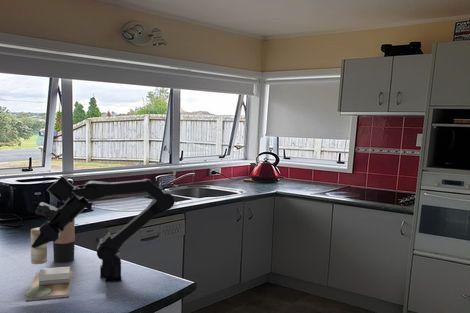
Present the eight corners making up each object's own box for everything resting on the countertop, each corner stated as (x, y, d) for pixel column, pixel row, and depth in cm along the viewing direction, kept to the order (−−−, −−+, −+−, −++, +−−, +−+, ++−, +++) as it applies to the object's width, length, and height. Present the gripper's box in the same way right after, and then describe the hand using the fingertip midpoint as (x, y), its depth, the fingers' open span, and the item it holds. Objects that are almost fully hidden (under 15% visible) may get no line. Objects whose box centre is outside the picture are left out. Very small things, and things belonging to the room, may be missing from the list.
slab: (70, 277, 140) (70, 266, 139) (68, 284, 134) (68, 272, 134) (41, 280, 137) (41, 268, 136) (38, 287, 131) (38, 275, 131)
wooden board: (73, 272, 147) (73, 268, 147) (68, 298, 127) (68, 293, 126) (34, 275, 144) (34, 271, 143) (23, 302, 123) (23, 297, 122)
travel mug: (53, 260, 160) (53, 210, 158) (74, 258, 163) (74, 209, 161) (53, 267, 153) (52, 214, 151) (75, 264, 156) (75, 213, 154)
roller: (46, 258, 139) (46, 226, 138) (47, 263, 135) (47, 230, 134) (30, 260, 137) (30, 228, 136) (31, 265, 133) (31, 231, 132)
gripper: (56, 189, 144) (21, 221, 142) (46, 199, 126) (7, 236, 124) (79, 211, 147) (46, 242, 145) (73, 223, 129) (35, 259, 127)
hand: (34, 244), depth 135 cm, fingers closed on roller, 5 cm apart
